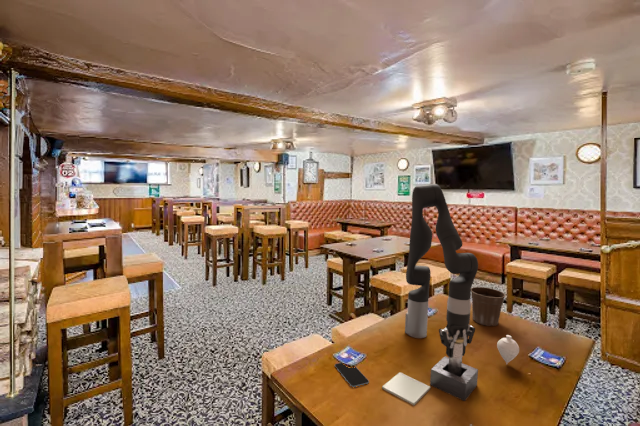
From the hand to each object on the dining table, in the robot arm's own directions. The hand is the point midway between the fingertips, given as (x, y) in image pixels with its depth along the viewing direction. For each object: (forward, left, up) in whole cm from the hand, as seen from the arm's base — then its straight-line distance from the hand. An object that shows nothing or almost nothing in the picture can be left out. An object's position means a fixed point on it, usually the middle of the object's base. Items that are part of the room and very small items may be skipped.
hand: (455, 355), depth 113 cm
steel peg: (0, 0, -7) cm, 7 cm away
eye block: (0, 0, -11) cm, 11 cm away
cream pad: (-11, -14, -11) cm, 21 cm away
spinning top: (+10, +29, -11) cm, 33 cm away
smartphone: (-30, -21, -12) cm, 39 cm away
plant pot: (-9, +67, -11) cm, 68 cm away
